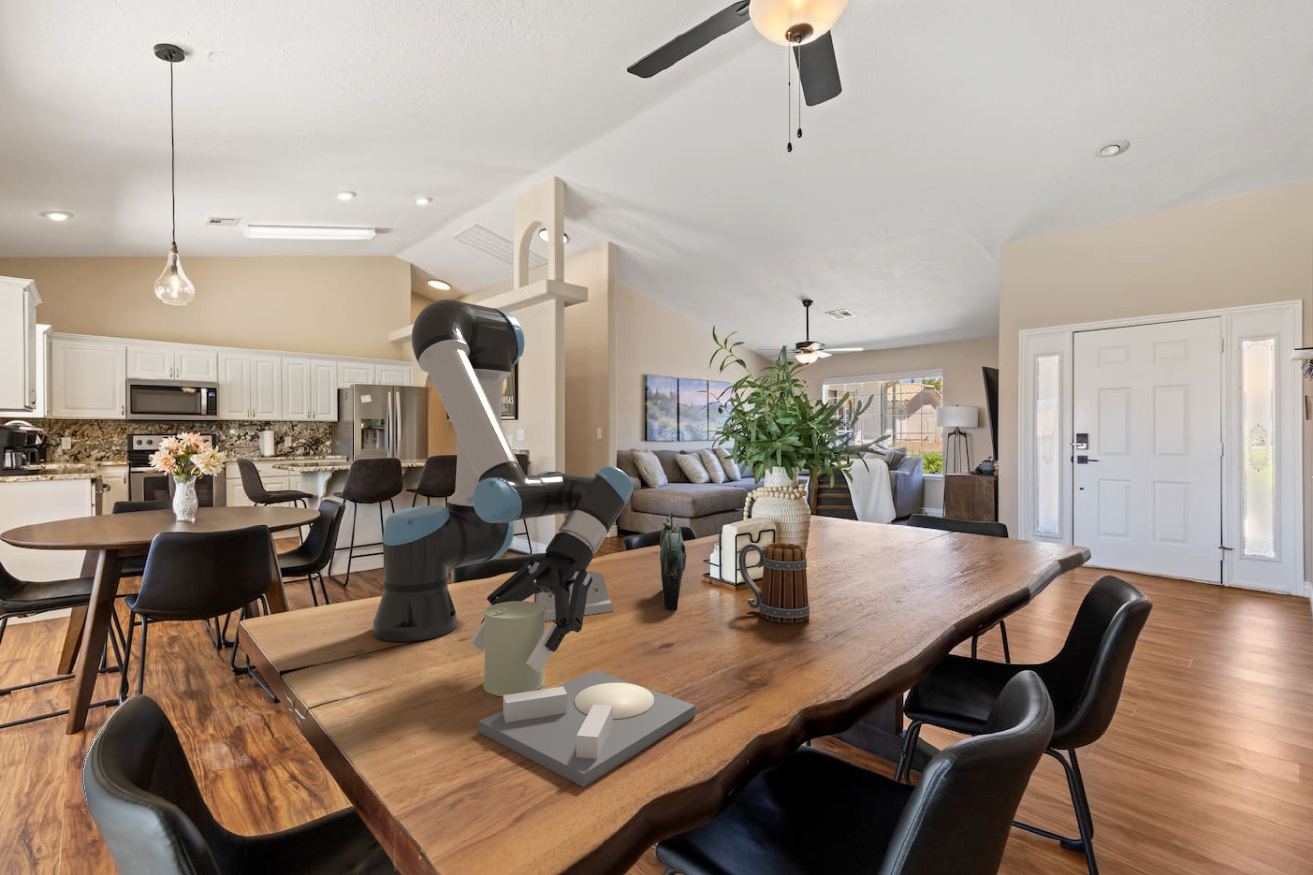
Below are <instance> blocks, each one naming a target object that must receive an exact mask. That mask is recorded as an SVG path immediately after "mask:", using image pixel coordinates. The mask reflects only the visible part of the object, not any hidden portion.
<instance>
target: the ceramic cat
mask: <svg viewBox="0 0 1313 875" xmlns="http://www.w3.org/2000/svg"><path fill="white" fill-rule="evenodd" d="M668 516H669V518H668ZM668 516H666V522H662V525H661V530H660V531H661V532H660V537H659V538H660V539H659V548H660V550H659V552H660V554H659V561H660V576H661V584H662V599H663V600H662V601H663V608H664V610H665V609H667V611H671V610H673V611H677V610H678V605H679V599H680V593H681V586H682V579H683V574H684V572H685V569H686V566H687V553H686V544H685V543H684V539H683V533H682V529H681V523H680V522H673V517H674V516H673V512H671V511H669V515H668Z"/></svg>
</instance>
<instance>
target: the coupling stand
mask: <svg viewBox="0 0 1313 875" xmlns="http://www.w3.org/2000/svg"><path fill="white" fill-rule="evenodd" d="M694 717H696V704H692V703H690V702H687V701H684V700H682V699H679V698H676V697H674V696H670V695H667V694H664V693H662V692H659V691H656V690H653V689H650V688H648V687H645V686H641V685H639V684H635V683H633V682H630V681H626V680H625V679H622V678H619V677H616V676H613V675H610V674H607V673H604V672H602V671H599V670H596V669H594V670H593V671H590V672H588V673H586V674H583V675H581V676H578V677H576V678H574V679H572V680H570V681H567V682H565V683H563V684H560V685H558V686H555V687H550V688H545V689H543V688H541V689H538V690H536V691H529V692H522V693H515V694H509V695H503V698H502V710H500V711H498V712H495V713H493V714H492V715H489V716H487V717H484V718H482V719H479V720H478V733H479V734H481V735H483V736H485V737H487V738H488V739H490V740H493V741H494V742H496V743H497V744H500V745H502V746H504V747H506V748H508V749H509V750H510V751H511V750H512V751H513V752H515V753H517V754H519V755H521V756H523V757H524V758H526V759H529V760H530V761H532V762H534V763H536V764H538V765H539V766H541V767H543V768H546V769H547V770H549V771H552V772H554V774H557V775H559V776H561V777H563V779H564V778H565V779H567V780H568V781H569V782H572V781H573V782H572V783H574V782H575V783H574V784H576V785H578V786H580V787H582V788H585V787H587V786H588V785H590V784H592V783H594V781H596V780H598V779H599V778H602V776H604V775H605V774H607V773H608V772H610V771H612V770H613V769H615V768H617V767H618V766H619V765H621V764H622V763H624V762H626V761H628V760H629V759H630V758H632V757H634V756H635V755H637V754H638V753H639V752H641V751H643V750H645V749H646V748H648V747H649V746H651V745H653V744H654V743H655V742H657V741H659V740H661V739H662V738H663V737H665V736H667V735H668V734H669V733H671V732H673V731H674V730H676V729H677V728H679V727H681V726H682V725H684V724H685V723H687V722H688V721H690V720H691V719H693V718H694Z"/></svg>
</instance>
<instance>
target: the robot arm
mask: <svg viewBox="0 0 1313 875" xmlns="http://www.w3.org/2000/svg"><path fill="white" fill-rule="evenodd" d="M411 343H412V344H411V346H412V351H413V354H414V357H415V359H416V361H417V363H418V364H417V365H418V366H419V368H420V370H422V371H423V372H425V373H427V374H429V376H430V378H431V380H432V382H433V385H434V387H435V389H436V392H437V393H438V396H439V398H440V399H441V402H442V404H443V407H444V409H445V411H446V413H447V415H448V417H449V420H450V422H451V424H452V425H453V426H452V427H453V428H454V431H455V433H456V435H457V450H456V451H457V453H456V469H455V470H456V474H455V490H454V493H452V495H450V496H449V497H448V498H447V501H446V502H447V503H446V506H444V505H439V504H438V505H436V504H435V505H432V504H431V505H424V506H413V507H409V508H405V509H402V510H398V511H395V512H393V513H391V514H390V515H389V516H388V517H387V518H386V519H385V521H384V528H383V535H382V542H383V589H382V590H383V592H382V595H381V598H380V601H379V604H378V608H377V610H376V612H375V616H374V619H373V622H372V635H373V636H374V637H375V638H376V639H379V640H382V641H386V642H399V643H401V642H402V643H403V642H407V643H408V642H417V641H424V640H429V639H435V638H438V637H441V636H443V635H447V634H448V633H451V632H452V631H454V630H455V629H456V627H457V625H458V624H457V623H458V620H457V617H458V615H457V612H456V607H455V605H454V601H453V599H452V596H451V593H450V591H449V586H448V585H449V584H448V582H449V581H448V577H449V570H450V569H456V568H460V567H465V566H469V565H475V564H482V563H487V562H490V561H491V560H494V559H498V558H500V557H502V556H503V555H504V554H505V553H506V552H507V551H508V549H510V547H511V544H512V542H513V539H514V535H515V522H516V521H520V520H526V519H527V520H528V519H531V518H532V519H533V518H542V517H548V516H556V515H566V518H565V519H564V521H563V522H562V524H561V525H560V527H559V528H558V533H555V534H554V536H553V537H552V539H551V541H550V542H549V544H548V545H547V547H546V548H545V558H544V559H543V560H542V561H541V562H537V561H536V560H535V559H533V557H530V558H528V559H527V561H525V563H523V566H522V567H520V568H519V569H518V570H517V571H516V572H515V573H513V574H512V575H511V576H510V577H509V578H508V579H507V580H506V581H504V582H503V583H502V584H501V585H499V586H498V587H497V588H496V589H495V590H493V592H491V593H490V594H489V595H488V596H487V598H486V600H487V601H488V602H489V604H490V606H492V605H495V604H499V603H504V602H512V601H525V600H526V599H528V598H530V597H531V596H534V594H535V593H536V594H538V593H540V592H545V593H551V594H553V595H555V616H556V620H552V622H553V623H554V624H553V623H549V625H548V626H547V628H546V630H544V634H543V636H542V638H541V639H540V641H539V642H538V644H537V646H536V647H535V649H534V651H533V652H532V654H531V655H530V657H529V659H528V660H527V662H526V664H527V665H528V666H529V667H530V668H532V669H533V670H534V671H535V672H536V673H539V674H540V672H541V670H542V669H543V667H544V668H545V665H546V663H547V662H548V660H549V658H550V657H551V655H552V653H553V652H554V653H555V652H556V651H557V650H558V648H559V646H560V645H561V643H562V642H563V640H564V638H565V636H566V635H567V634H569V633H570V632H575V633H579V632H581V631H582V629H583V622H584V617H585V616H584V611H585V605H586V599H587V592H588V589H589V587H590V585H591V583H592V580H593V578H592V577H591V576H590V575H589V574H588V572H587V571H588V570H587V569H588V567H589V566H590V563H591V562H592V560H593V559H594V555H595V554H596V553H597V552H598V550H599V548H600V547H601V545H602V544H603V542H604V540H605V539H606V537H607V535H608V534H609V533H610V531H611V529H612V527H613V526H614V524H615V523H616V521H617V519H618V517H620V515H621V513H622V512H623V510H624V509H625V508H626V507H627V503H628V502H629V499H630V498H631V496H632V494H633V492H634V484H633V481H632V480H631V477H630V476H629V475H628V474H627V473H626V472H625V471H623V470H621V469H619V467H615V466H613V465H605V466H603V467H600V468H599V470H598V471H597V472H595V473H594V476H582V475H577V474H576V475H575V474H570V473H564V472H561V471H557V470H556V471H555V470H554V471H541V472H539V473H538V474H534V475H532V474H531V475H526V474H525V473H524V471H523V469H522V467H521V465H520V463H519V461H518V459H517V457H516V455H515V453H514V451H513V449H512V447H511V445H510V442H509V441H508V438H507V436H506V434H505V432H504V430H503V428H502V411H503V410H502V409H503V394H504V393H503V391H504V382H505V380H506V379H508V377H510V376H511V375H512V367H513V366H514V365H516V364H518V362H520V358H521V357H522V356H523V353H524V350H525V334H524V331H523V328H522V326H521V324H520V323H519V321H518V320H517V318H515V317H514V316H513V315H512V314H510V313H508V312H507V311H503V310H500V309H497V308H495V307H494V308H493V307H488V306H483V305H478V304H473V303H469V302H463V301H461V300H456V299H449V298H447V299H440V300H436V301H434V302H431V303H429V304H428V305H427V306H425V307H424V308H423V309H422V310H421V311H419V313H418V315H417V317H416V318H415V320H414V323H413V326H412V330H411ZM514 521H515V522H514ZM586 570H587V571H586ZM573 583H574V584H573ZM572 584H573V589H572V595H571V600H570V605H569V598H570V585H572ZM469 643H470V644H471V645H472V647H474V648H476V649H477V651H479V652H483V651H485V616H484V618H482V620H481V623H480V626H479V627H478V628H477V629H476V631H475V632H474V634H473V635H472V637H471V639H469Z"/></svg>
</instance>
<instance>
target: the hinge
mask: <svg viewBox="0 0 1313 875" xmlns="http://www.w3.org/2000/svg"><path fill="white" fill-rule="evenodd" d="M586 571H587V572H588V574H589V575H590V576H591V577H592V578H593V580H592V583H591V585H590V587H589V589H588V592H587V599H586V605H585V611H584V615H586V616H591V615H592V614H593V615H598V613H600V614H606V613H605V612H607V613H611V612H610V611H613V612H614V610H613V605H612V604H613V603H612V601H611V599H610V597H609V596H610V595H609V593H608V588H607V584H606V580H605V576H604V575H603V573H600V572H597V571H592V570H587V569H586ZM573 584H574V583H573ZM573 584H572V585H570V598H569V605H570V600H571V595H572V589H573ZM533 602H535V603H539V604H541V605H543V606H544V607H545V615H544V622H550V621H555V620H556V616H555V595H553V594H551V593H545V592H540V593H538V594H536V593H535V594H533ZM593 615H592V616H593Z"/></svg>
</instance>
